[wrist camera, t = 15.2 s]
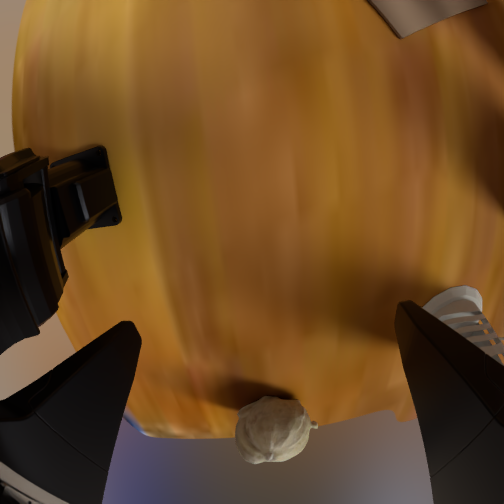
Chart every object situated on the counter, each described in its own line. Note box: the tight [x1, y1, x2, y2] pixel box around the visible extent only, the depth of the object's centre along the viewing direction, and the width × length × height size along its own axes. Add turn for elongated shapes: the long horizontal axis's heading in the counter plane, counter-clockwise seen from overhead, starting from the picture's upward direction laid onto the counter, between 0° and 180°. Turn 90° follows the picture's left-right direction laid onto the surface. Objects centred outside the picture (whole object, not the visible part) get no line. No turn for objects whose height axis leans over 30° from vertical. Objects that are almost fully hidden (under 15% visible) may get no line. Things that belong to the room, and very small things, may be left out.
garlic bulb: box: [235, 396, 318, 464], centre depth 26 cm, size 9×8×10 cm
